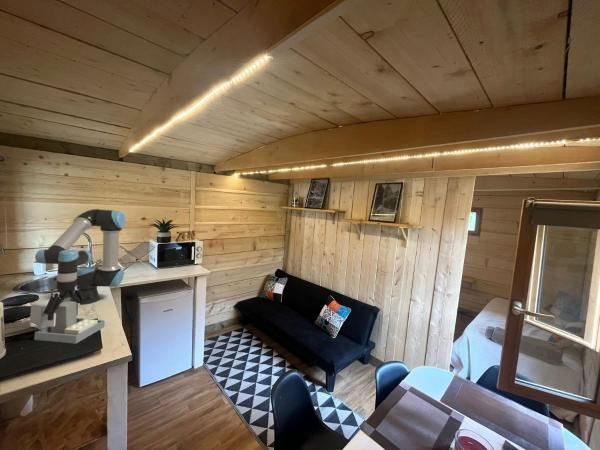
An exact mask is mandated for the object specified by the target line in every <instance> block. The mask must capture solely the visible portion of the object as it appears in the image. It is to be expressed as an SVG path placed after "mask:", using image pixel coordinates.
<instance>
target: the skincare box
mask: <svg viewBox="0 0 600 450" xmlns="http://www.w3.org/2000/svg"><path fill="white" fill-rule="evenodd" d="M55 313H56V320H55V326H54V327H52V326H51V333H59V334H64V330H65V329H66V328H68V327H70V326H72V325H74V324H76V323H77V318H78V317H77V316H78V315H77V311H76V302H71V300H70V301H67V300H63V301H62V302H61V304H60V305H59V307H58V308H57V310H56V311H55Z"/></svg>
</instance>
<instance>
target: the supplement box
mask: <svg viewBox="0 0 600 450" xmlns="http://www.w3.org/2000/svg"><path fill="white" fill-rule="evenodd" d="M48 302H49V300H43V301H39V302H36V303H32V304H31V305H30V316H29V323H30V322H31V323H34V324H36V325H37V327H38V329H37V330H41V329H44V328H46V327H48V321H49V320H48V314H44V310H45V308H46V306H47V304H48Z"/></svg>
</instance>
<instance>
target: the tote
mask: <svg viewBox="0 0 600 450" xmlns="http://www.w3.org/2000/svg"><path fill="white" fill-rule="evenodd" d="M84 319H85V318H82V317H81V318H80V317H77V323H78V322H80V321H82V320H84ZM88 319H89V320H95V318H94V319H92V318H91V319H90V318H88ZM97 320H98V323H97V324H95V325H94V326H92V327H90V328H88V329H86V330H84V331H83V332H81V333H79V334H77V335H70V334H59V333H51V326H48V327H45V328H42V329H38V330H37V331H35V332H34V337H33V339H34V341H41V342H52V343H53V342H54V343H62V344H63V343H65V344H74V345H76V344H78V343H80V342H81V341H84V339H86V338H88V337H89V336H92V335H93V334H94V333H97V332H98V331H101V330H102V329H103V328H105V320H104V319H97Z"/></svg>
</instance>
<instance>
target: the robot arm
mask: <svg viewBox="0 0 600 450" xmlns="http://www.w3.org/2000/svg"><path fill="white" fill-rule="evenodd" d="M72 222H73V223H72V224H71V225H70V226H69V227H68V228H67V229H66V230H65V231H64V232H63V233H62V234H61V235H60V236H59V237H58V238H57V239H56V240H55V241H54V242H53V243H52V244H51V246H49V247H48V248H47V249H46V248H43V249H39V250H38V251H37V252H36V254H35V257H34V258H35V261H36V262H37V263H38V264H45V265H57V277H56V280H57V281H56V289H57V292H52V293H51V294H50V298H49V300H48V301H49V302H48V304H47V306H46V308H45V310H44V314H48V320H49V321H48V326H52V327H54V326H55V320H56V313H55V311H56V310H57V308H58V307H59V305H60V304H61V302H62V301H65V300H67V299H68V298H70V302H76V311H77V316H79V315H80V308H81V305H88V304H92V303H93V302H94V303H96V302H99V301H100V294H99V291H98V287H108V288H109V287H110V288H111V287H114V288H115V287H118V286H120V285H121V283H122V282H123V280H124V275H125V272H124V270H123V269H121V265H119V237H120V232H122V230H123V228H125V227H126V217H125V214H124V213H123V212H122V211H118V210H113V209H112V210H111V209H99V208H95V209H89V210H86V211H84V212H82V213H79V215H77V216H76V217H75V218H74V219H73V221H72ZM94 227H99V228H100V231H101V232H102V265H101V266H100V268H99V267H98V266H87V267H82V268H79V269H78V266H81V265H85V264H87V263H89V262H90V261H91V259H92V257H93V256H92V253H91V252H90V251H88V250H85V249H82V250H74V249H71V248H72V247H73V245H74V244H75V243H76V242H77V241H78V240H79V239H80V238H81V237H82V235H83V234H84V233H85V232H86V231H88V230H89V229H91V228H94Z"/></svg>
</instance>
